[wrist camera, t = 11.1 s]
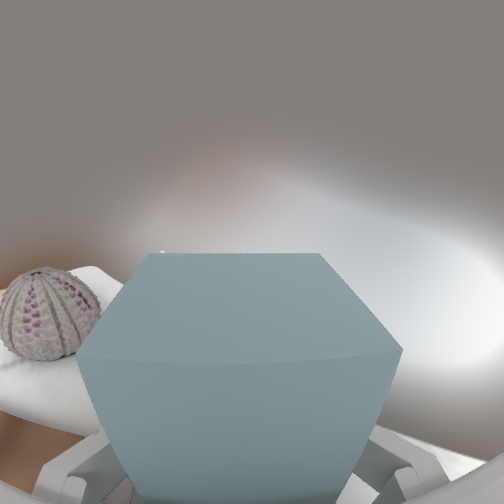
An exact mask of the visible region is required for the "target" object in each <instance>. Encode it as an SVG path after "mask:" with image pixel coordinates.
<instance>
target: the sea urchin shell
mask: <svg viewBox="0 0 504 504" xmlns="http://www.w3.org/2000/svg"><path fill="white" fill-rule="evenodd" d="M99 305H100V302H99V301H98V300H97V296H96V295H94V294H93V291H91V290H90V289H89V287H88V286H87V285H86V284H84V283H83V282H82V281H81V280H79V279H78V278H77V276H73V275H71V273H70V272H69V273H67V272H65V271H64V270H57V269H54V268H51V267H41V268H37V269H33V270H31V271H29V272H27V273H24V274H22V275H19V276H18V277H17V278H15V280H14V281H13V282H11V283H10V285H9V287H7V288H6V292H5V293H4V294H3V299H2V301H1V305H0V339H1V340H3V341H4V346H7V347H8V350H9V351H11V352H14V353H15V354H16V355H17V356H22V357H23V356H24V357H25V358H27V357H28V358H29V359H30V360H33V361H36V360H43V361H45V360H49V361H52V360H54V359H55V360H57V359H59V358H60V357H61V356H63V355H67V356H69V355H70V354H71V353H75V352H77V351H78V349H79V348H80V346H81V345H82V343H83V342H84V340H85V339H86V337H87V336H88V334H89V333H90V332H91V330H92V329H93V327H94V326H95V324H96V323H97V322H98V320H99V319H100V316H99V313H100V311H101V309H100V307H99Z"/></svg>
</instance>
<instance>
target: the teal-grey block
mask: <svg viewBox="0 0 504 504" xmlns="http://www.w3.org/2000/svg"><path fill="white" fill-rule="evenodd" d="M402 351H403V349H402V347H401V346H400V345H399V344H398V343H397V341H396V340H395V339H394V338H393V337H392V335H391V334H390V333H389V332H388V331H387V330H386V328H385V327H384V326H383V325H382V324H381V323H380V321H379V320H378V319H377V318H376V317H375V316H374V314H373V313H372V312H371V311H370V310H369V309H368V308H367V306H365V304H364V303H363V302H362V301H361V300H360V298H359V297H358V296H357V295H356V294H355V293H354V292H353V290H352V289H351V288H350V287H349V286H348V285H347V284H346V283H345V282H344V280H343V279H342V278H341V277H340V276H339V275H338V274H337V273H336V272H335V270H334V269H333V268H332V267H331V266H330V265H329V264H328V263H327V262H326V261H325V259H324V258H323V257H322V256H321V255H320V254H319V253H317V254H316V253H314V254H313V253H312V254H311V253H310V254H309V253H305V254H303V253H299V254H298V253H297V254H295V253H294V254H148V255H147V256H146V258H145V259H144V260H143V261H142V263H141V264H140V265H139V266H138V268H137V269H136V270H135V272H134V273H133V274H132V275H131V277H130V278H129V279H128V281H127V282H126V283H125V285H124V286H123V287H122V289H121V290H120V291H119V293H118V294H117V295H116V297H115V298H114V299H113V301H112V302H111V304H110V305H109V306H108V308H107V309H106V310H105V312H104V313H103V315H102V316H101V317H100V319H99V320H98V322H97V323H96V324H95V326H94V327H93V329H92V330H91V332H90V333H89V334H88V336H87V337H86V339H85V340H84V342H83V343H82V345H81V346H80V348H79V349H78V351H77V352H76V354H75V356H76V360H77V363H78V366H79V368H80V371H81V374H82V377H83V380H84V382H85V385H86V388H87V390H88V393H89V396H90V398H91V401H92V403H93V406H94V408H95V410H96V413H97V415H98V417H99V420H100V422H101V424H102V426H103V428H104V431H105V433H106V435H107V437H108V439H109V441H110V443H111V445H112V447H113V449H114V451H115V453H116V455H117V457H118V459H119V461H120V463H121V464H122V466H123V468H124V470H125V472H126V474H127V475H128V477H129V479H130V480H131V482H132V484H133V486H134V487H135V489H136V491H137V492H138V494H139V495H140V497H141V499H142V500H143V502H144V503H145V504H334V503H335V502H336V500H337V498H338V497H339V495H340V493H341V491H342V490H343V488H344V486H345V484H346V483H347V481H348V479H349V477H350V475H351V473H352V472H353V470H354V468H355V466H356V464H357V462H358V460H359V458H360V456H361V454H362V452H363V450H364V448H365V446H366V444H367V441H368V439H369V437H370V435H371V433H372V431H373V428H374V426H375V424H376V421H377V419H378V417H379V414H380V412H381V409H382V407H383V404H384V402H385V399H386V397H387V394H388V392H389V389H390V386H391V384H392V381H393V378H394V375H395V372H396V369H397V366H398V363H399V360H400V357H401V354H402Z"/></svg>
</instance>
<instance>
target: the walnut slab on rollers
mask: <svg viewBox="0 0 504 504" xmlns="http://www.w3.org/2000/svg"><path fill="white" fill-rule="evenodd" d="M83 439H85V438H84V436H80V435H76V434H72V433H68V432H64V431H60V430H56V429H53V428H49V427H46V426H43V425H39V424H36V423H33V422H30V421H27V420H24V419H21V418H18V417H16V416H13V415H10V414H8V413H5V412H2V411H0V480H1V481H3V482H5V483H7V484H9V485H11V486H13V487H16V488H18V489H20V490H22V491H24V492H26V493H29V494H32V491H33V489H34V486H35V484H36V481H37V479H38V477H39V474H40V472H41V470H42V467H43V465H45V464H46V463H48V462H49V461H51V460H52V459H54V458H56V457H57V456H59V455H60V454H62V453H63V452H65V451H66V450H68V449H69V448H71V447H73V446H74V445H76V444H77V443H79V442H80V441H82V440H83Z"/></svg>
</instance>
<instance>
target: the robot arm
mask: <svg viewBox="0 0 504 504" xmlns="http://www.w3.org/2000/svg"><path fill="white" fill-rule="evenodd" d="M353 473H355V474H356V475H357V476H358V477H359V478H361V479H362V480H363V481H364V482H366V483H367V484H368V485H369V486H371V487H372V488H373V489H375V490H376V491H377V492H378V493H380V494H379V495H378V496H377V498H376V499H375V500H374V501H373V503H372V504H504V452H503V453H501V454H500V455H498V456H496V457H495V458H493V459H492V460H490V461H488V462H487V463H485V464H483V465H482V466H480V467H478V468H476V469H475V470H473V471H471V472H469V473H467V474H465V475H464V476H462V477H460V478H458V479H456V480H454V481H452V482H450V480H449V479H448V477H447V475H446V473H445V472H444V470H443V468H442V467H441V465H440V463H439V462H438V460H437V458H436V457H435V455H433V454H431V453H429V452H427V451H425V450H423V449H421V448H419V447H417V446H415V445H413V444H412V443H410V442H408V441H406V440H404V439H402V438H401V437H399V436H397V435H395V434H393V433H392V432H390V431H388V430H386V429H384V428H383V427H380V428H378V427H377V425H376V424H375V426H374V428H373V431H372V433H371V435H370V437H369V439H368V441H367V444H366V446H365V448H364V450H363V452H362V454H361V456H360V458H359V460H358V462H357V464H356V466H355V468H354V470H353ZM126 476H127V474H126V472H125V470H124V468H123V466H122V464H121V463H120V461H119V459H118V457H117V455H116V453H115V451H114V449H113V447H112V445H111V443H110V441H109V439H108V437H107V435H106V433H105V431H104V428H103V426H102V424H101V423H100V426H99V428H98V431H97V434H95V433H92V434H90V435H89V436H88V437H86V438H85V439H83V440H82V441H80V442H79V443H77V444H76V445H74V446H73V447H71V448H69V449H68V450H66V451H65V452H63V453H62V454H60V455H59V456H57V457H56V458H54V459H52V460H51V461H49V462H48V463H46V464H45V465H43V467H42V470H41V472H40V474H39V477H38V479H37V481H36V484H35V486H34V489H33V491H32V494H29V493H26V492H24V491H22V490H20V489H18V488H16V487H13V486H11V485H9V484H7V483H5V482H3V481H1V480H0V504H104V503H103V502H102V500H103V499H104V498H105V497H106V496H107V495H108V494H109V493H110V492H111V491H112V490H113V489H114V488H115V487H116V486H117V485H118V484H119V483H120V482H121V481H122V480H123V479H124V478H125V477H126Z"/></svg>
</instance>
